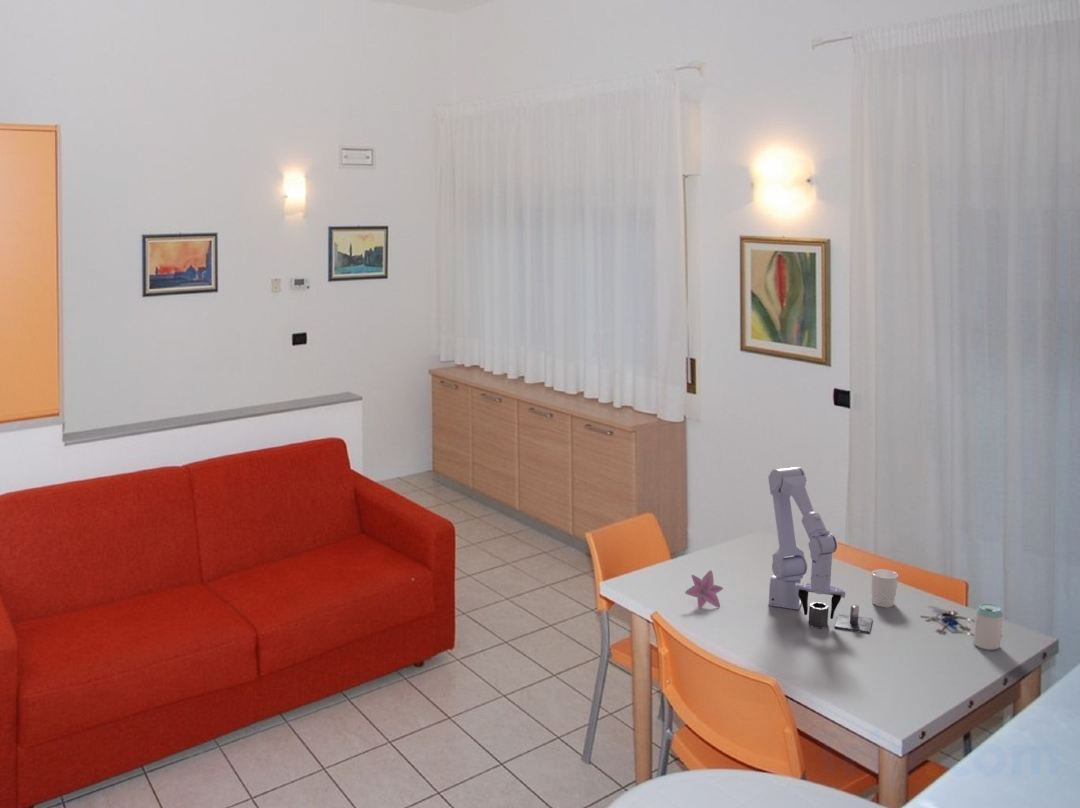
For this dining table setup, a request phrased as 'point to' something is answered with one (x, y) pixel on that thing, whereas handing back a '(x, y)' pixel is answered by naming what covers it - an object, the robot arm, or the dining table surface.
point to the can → (988, 627)
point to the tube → (818, 614)
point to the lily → (705, 590)
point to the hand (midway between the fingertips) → (818, 615)
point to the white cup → (884, 587)
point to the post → (853, 621)
